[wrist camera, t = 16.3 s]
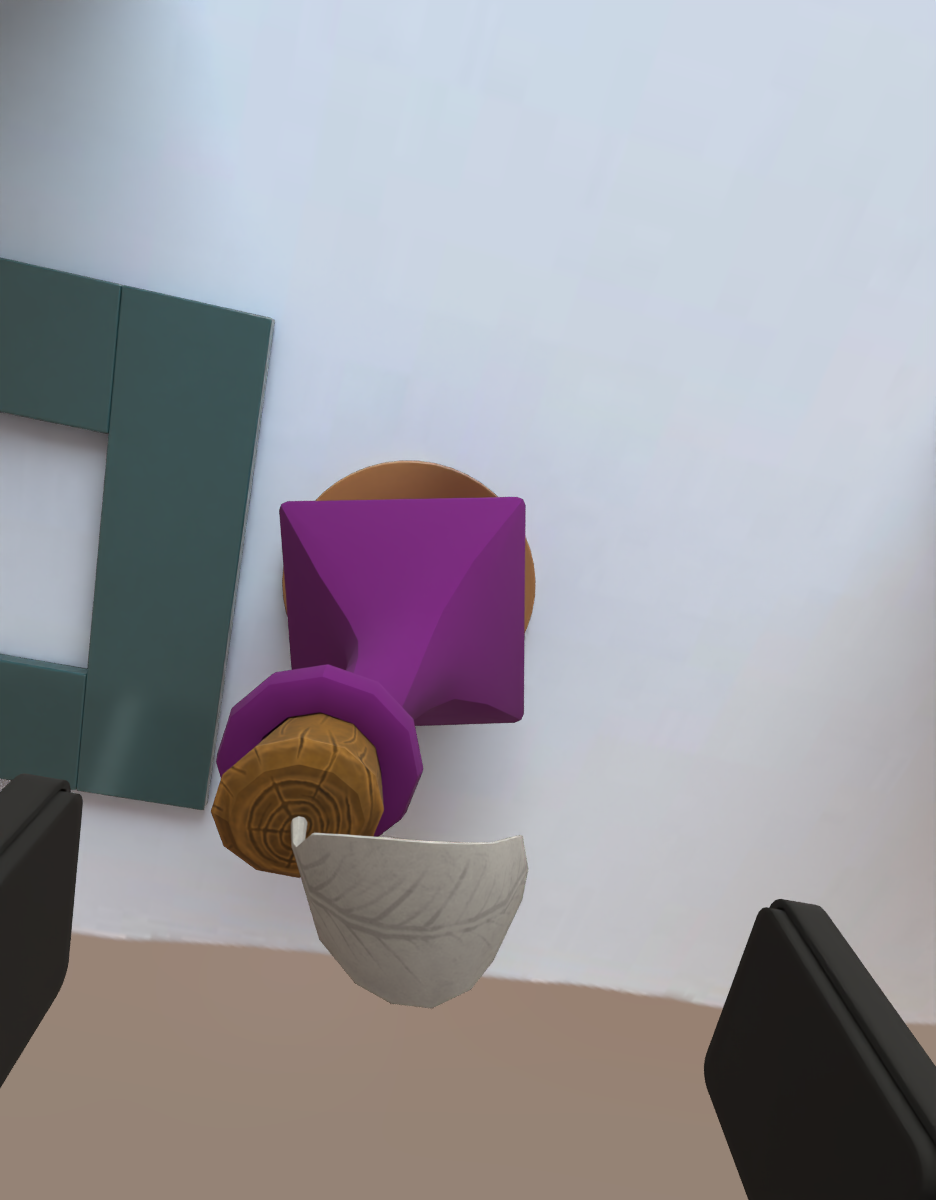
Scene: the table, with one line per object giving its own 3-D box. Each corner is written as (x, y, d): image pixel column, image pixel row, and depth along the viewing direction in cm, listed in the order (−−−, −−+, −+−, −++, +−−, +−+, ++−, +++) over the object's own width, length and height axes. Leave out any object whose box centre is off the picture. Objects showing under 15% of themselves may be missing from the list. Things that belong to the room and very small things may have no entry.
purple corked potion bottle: (309, 690, 29) (139, 1161, 12) (295, 486, 27) (61, 689, 10) (513, 684, 29) (640, 1131, 12) (514, 482, 27) (669, 671, 10)
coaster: (559, 488, 28) (561, 490, 27) (504, 719, 30) (504, 724, 30) (304, 435, 27) (303, 436, 26) (267, 679, 29) (265, 682, 29)
